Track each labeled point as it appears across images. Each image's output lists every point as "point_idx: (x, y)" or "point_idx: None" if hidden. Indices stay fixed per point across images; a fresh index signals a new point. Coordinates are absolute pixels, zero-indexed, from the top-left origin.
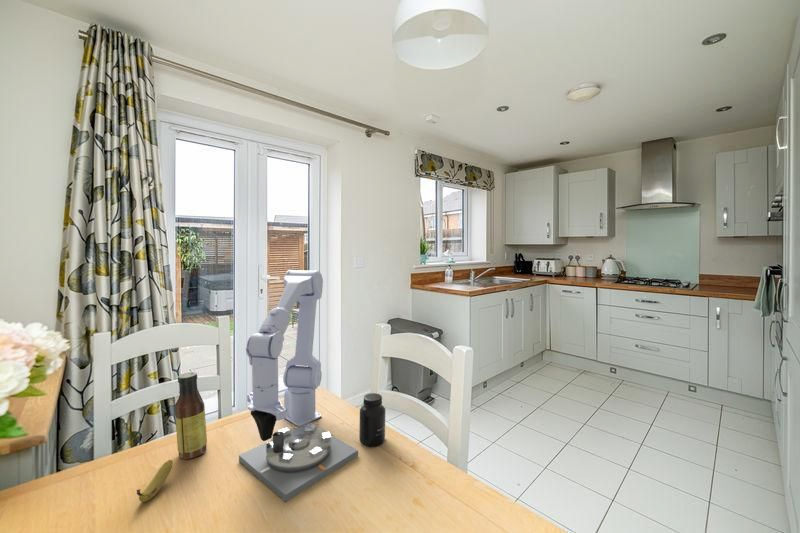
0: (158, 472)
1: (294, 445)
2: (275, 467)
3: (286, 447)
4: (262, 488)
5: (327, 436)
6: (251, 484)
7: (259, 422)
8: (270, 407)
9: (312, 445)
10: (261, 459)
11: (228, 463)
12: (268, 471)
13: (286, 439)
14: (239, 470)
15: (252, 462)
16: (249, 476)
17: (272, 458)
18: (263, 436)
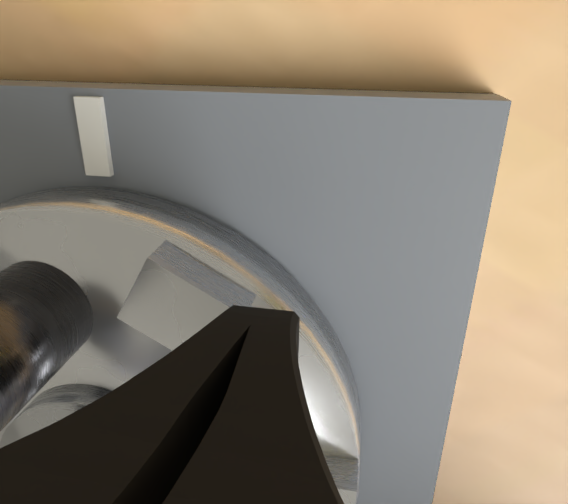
0: None
1: (31, 417)
2: (30, 196)
3: (119, 378)
4: (19, 42)
5: None
6: (112, 5)
7: (41, 490)
8: None
9: None
10: (260, 200)
11: (561, 2)
12: (68, 147)
13: None
14: (361, 26)
15: (281, 126)
16: (217, 46)
17: (41, 221)
18: (198, 336)
